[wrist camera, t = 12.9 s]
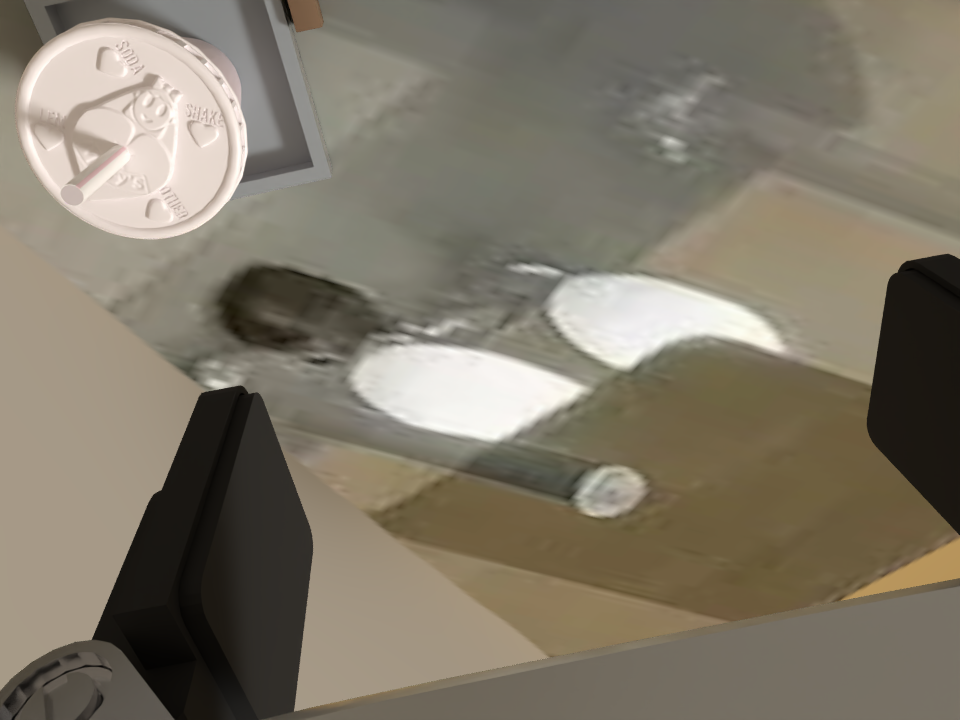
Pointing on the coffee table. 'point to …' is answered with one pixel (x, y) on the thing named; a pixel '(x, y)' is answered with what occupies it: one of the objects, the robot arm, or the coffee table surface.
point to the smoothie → (133, 126)
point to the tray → (259, 64)
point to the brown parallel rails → (305, 14)
